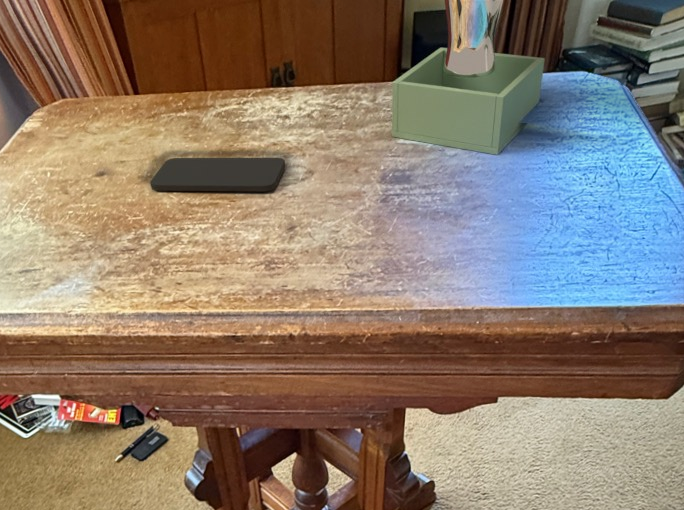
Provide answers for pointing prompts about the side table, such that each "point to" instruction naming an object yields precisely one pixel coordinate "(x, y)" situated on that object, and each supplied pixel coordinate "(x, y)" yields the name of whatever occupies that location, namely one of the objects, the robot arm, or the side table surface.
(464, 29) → the beer glass
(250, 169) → the phone
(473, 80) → the bin
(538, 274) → the side table surface
